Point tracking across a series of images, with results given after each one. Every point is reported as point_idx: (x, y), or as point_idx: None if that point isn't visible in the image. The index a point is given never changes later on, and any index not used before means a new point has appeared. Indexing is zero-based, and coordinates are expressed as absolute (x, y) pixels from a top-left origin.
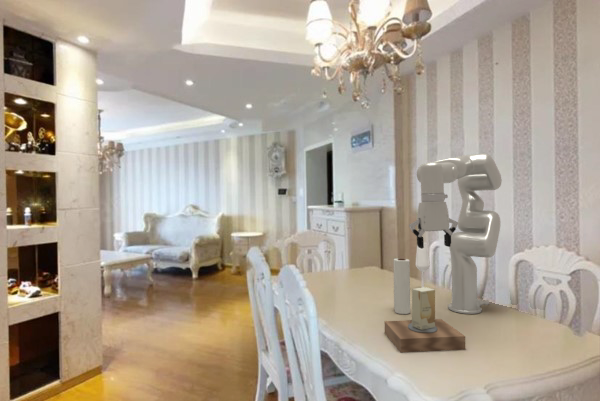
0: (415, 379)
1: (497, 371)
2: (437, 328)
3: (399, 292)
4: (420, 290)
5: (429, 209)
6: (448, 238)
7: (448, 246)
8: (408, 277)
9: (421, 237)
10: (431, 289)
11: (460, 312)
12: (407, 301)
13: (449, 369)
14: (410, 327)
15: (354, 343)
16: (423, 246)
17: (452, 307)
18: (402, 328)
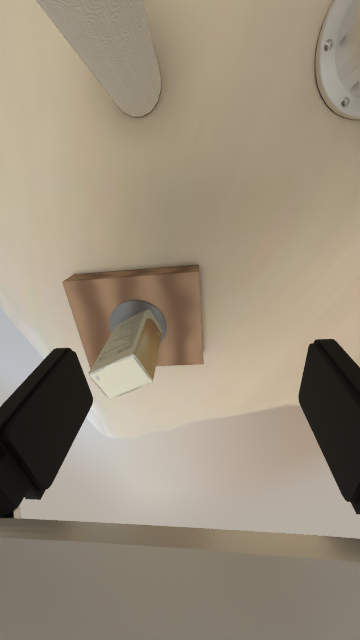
0: (107, 415)
1: (210, 406)
2: (167, 328)
3: (98, 78)
4: (108, 392)
5: None
6: (335, 471)
7: (304, 391)
8: (121, 29)
9: (27, 495)
10: (142, 381)
11: (328, 105)
12: (140, 97)
13: (153, 399)
14: (113, 328)
15: (22, 321)
16: (87, 410)
17: (329, 51)
18: (98, 325)
